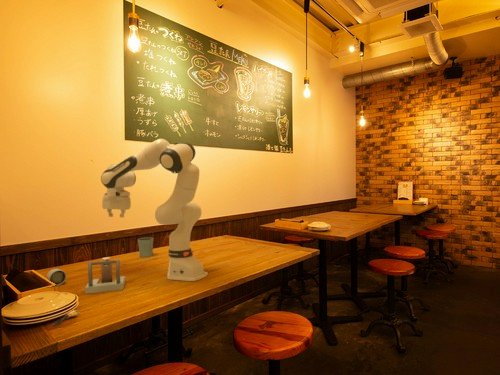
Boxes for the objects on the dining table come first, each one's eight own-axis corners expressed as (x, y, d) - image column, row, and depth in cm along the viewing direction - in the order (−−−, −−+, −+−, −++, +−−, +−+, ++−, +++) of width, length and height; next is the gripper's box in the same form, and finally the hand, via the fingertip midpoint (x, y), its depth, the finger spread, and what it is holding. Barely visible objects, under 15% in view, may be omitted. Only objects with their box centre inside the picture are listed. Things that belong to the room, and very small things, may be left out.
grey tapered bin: (148, 258, 208) (148, 240, 208) (135, 257, 210) (134, 239, 210) (156, 254, 218) (155, 237, 218) (143, 254, 220) (142, 237, 220)
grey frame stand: (90, 285, 156) (89, 257, 155) (125, 281, 160) (124, 254, 160) (85, 293, 144) (84, 263, 144) (122, 289, 149) (121, 260, 148)
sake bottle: (114, 285, 155) (114, 257, 155) (106, 288, 151) (105, 259, 150) (108, 284, 157) (107, 256, 157) (99, 287, 153) (98, 258, 153)
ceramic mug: (62, 280, 165) (61, 265, 165) (67, 283, 159) (66, 268, 159) (38, 285, 157) (37, 270, 157) (42, 289, 152) (41, 273, 151)
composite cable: (55, 327, 112) (55, 320, 112) (47, 324, 114) (47, 318, 114) (80, 316, 121) (80, 309, 121) (72, 314, 123) (72, 307, 123)
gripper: (98, 193, 181) (99, 216, 182) (123, 193, 171) (123, 218, 172) (108, 192, 187) (109, 215, 187) (132, 192, 177) (133, 217, 177)
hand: (116, 217), depth 179 cm, fingers open, 8 cm apart
